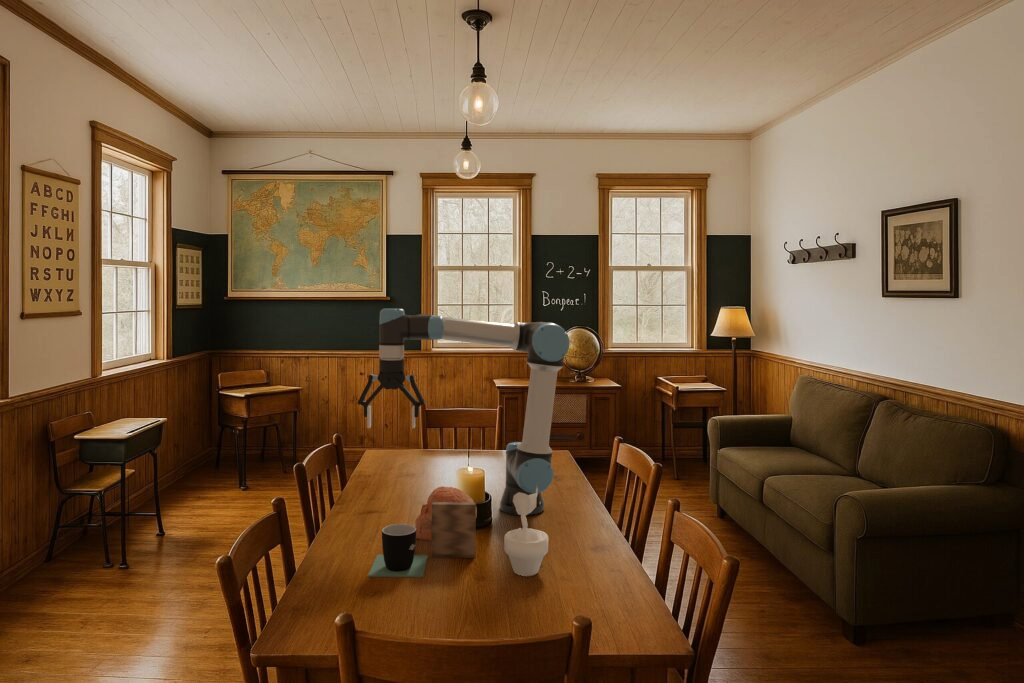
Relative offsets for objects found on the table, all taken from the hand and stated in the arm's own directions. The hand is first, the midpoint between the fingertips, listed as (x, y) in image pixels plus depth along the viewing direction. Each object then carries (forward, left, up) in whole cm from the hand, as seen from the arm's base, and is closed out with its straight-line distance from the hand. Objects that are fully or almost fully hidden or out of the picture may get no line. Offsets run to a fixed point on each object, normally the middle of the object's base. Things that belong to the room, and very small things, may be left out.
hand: (391, 427), depth 205 cm
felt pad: (-7, +30, -32) cm, 44 cm away
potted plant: (-41, +33, -32) cm, 61 cm away
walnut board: (-21, +21, -32) cm, 43 cm away
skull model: (-18, +7, -32) cm, 37 cm away
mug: (-7, +30, -31) cm, 44 cm away
